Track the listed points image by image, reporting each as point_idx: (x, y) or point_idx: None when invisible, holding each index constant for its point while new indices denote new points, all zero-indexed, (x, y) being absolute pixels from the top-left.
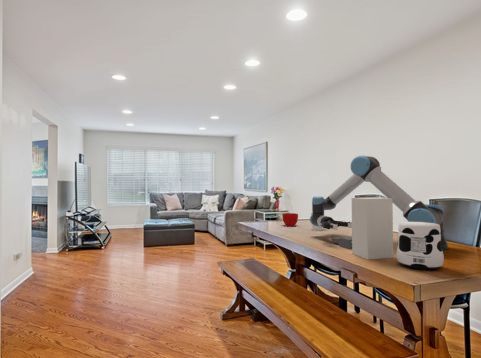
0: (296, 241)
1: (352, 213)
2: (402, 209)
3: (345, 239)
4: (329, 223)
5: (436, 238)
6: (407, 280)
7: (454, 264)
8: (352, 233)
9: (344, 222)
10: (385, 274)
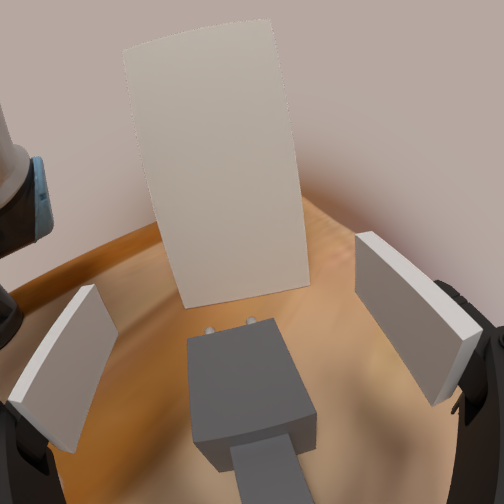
0: None
1: (283, 90)
2: (7, 168)
3: (285, 345)
4: (501, 386)
5: None
6: None
7: (134, 240)
8: (299, 192)
9: (1, 491)
10: (304, 200)
